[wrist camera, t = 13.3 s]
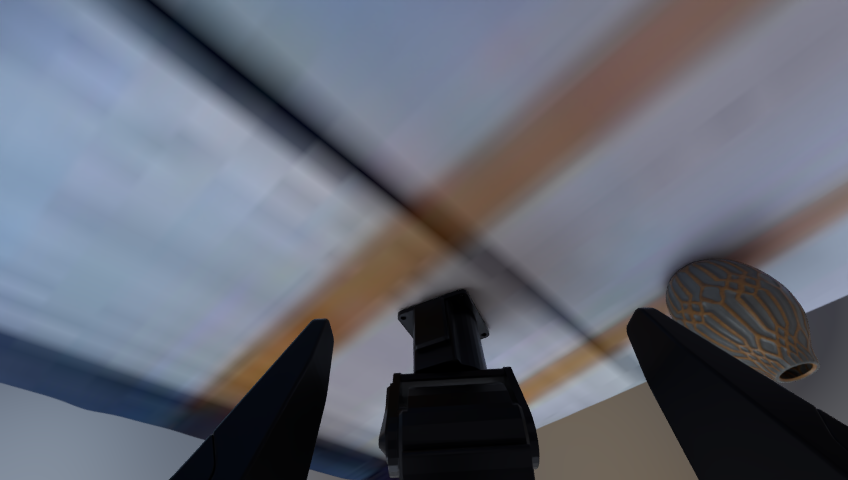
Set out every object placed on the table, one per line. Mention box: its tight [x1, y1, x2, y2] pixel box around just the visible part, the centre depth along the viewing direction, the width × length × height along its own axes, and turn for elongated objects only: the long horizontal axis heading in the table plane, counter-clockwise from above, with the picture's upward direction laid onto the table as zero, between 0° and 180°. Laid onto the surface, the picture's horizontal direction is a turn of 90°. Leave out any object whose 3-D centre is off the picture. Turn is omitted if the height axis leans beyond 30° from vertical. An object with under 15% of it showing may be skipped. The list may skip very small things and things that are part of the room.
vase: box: [666, 259, 820, 383], centre depth 23 cm, size 7×7×9 cm
